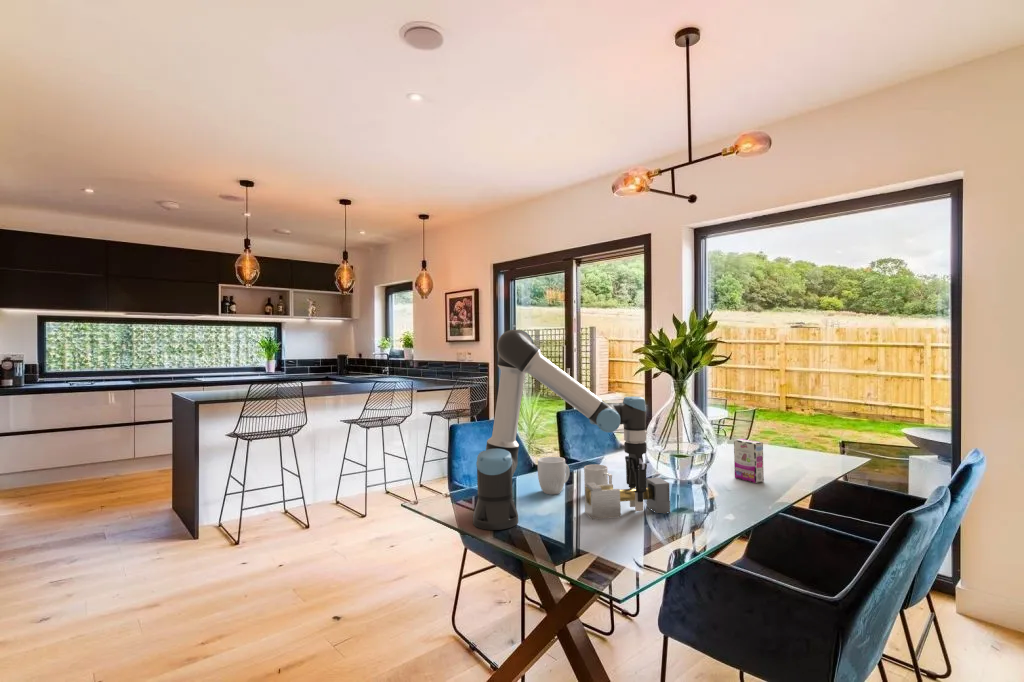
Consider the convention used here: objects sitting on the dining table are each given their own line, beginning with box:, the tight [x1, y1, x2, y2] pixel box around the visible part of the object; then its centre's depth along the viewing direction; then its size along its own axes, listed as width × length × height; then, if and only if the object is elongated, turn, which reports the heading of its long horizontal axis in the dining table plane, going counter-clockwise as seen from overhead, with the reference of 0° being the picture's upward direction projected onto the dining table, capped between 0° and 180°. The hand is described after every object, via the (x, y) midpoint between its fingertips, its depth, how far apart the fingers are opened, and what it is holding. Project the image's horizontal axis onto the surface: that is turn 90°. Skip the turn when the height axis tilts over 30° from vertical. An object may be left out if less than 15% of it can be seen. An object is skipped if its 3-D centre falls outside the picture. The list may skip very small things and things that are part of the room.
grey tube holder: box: [584, 482, 622, 520], centre depth 185 cm, size 10×8×10 cm
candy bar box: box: [733, 438, 765, 484], centre depth 225 cm, size 11×5×16 cm, turn 25°
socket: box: [646, 477, 671, 514], centre depth 188 cm, size 5×8×10 cm, turn 10°
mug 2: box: [583, 464, 613, 487], centre depth 205 cm, size 12×9×11 cm
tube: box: [588, 486, 653, 504], centre depth 186 cm, size 22×4×4 cm, turn 100°
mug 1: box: [537, 456, 571, 496], centre depth 214 cm, size 15×11×13 cm
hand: (636, 508), depth 187 cm, fingers closed on tube, 4 cm apart
